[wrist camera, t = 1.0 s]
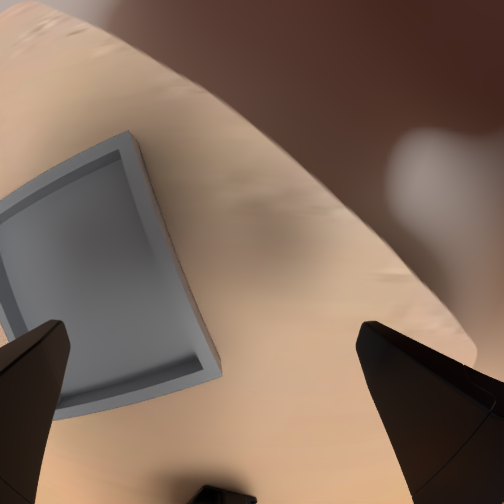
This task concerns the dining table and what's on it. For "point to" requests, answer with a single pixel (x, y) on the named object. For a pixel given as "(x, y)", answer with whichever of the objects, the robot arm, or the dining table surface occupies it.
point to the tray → (102, 281)
